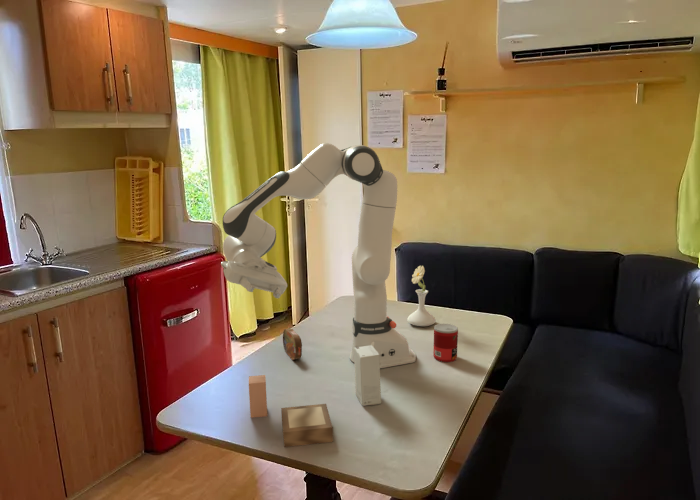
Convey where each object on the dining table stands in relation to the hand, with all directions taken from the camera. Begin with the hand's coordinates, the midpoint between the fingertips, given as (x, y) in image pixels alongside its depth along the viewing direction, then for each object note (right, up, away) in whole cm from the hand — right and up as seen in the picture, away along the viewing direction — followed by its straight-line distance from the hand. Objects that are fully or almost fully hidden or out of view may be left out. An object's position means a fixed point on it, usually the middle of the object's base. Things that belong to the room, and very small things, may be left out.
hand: (265, 293), depth 153 cm
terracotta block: (-1, -32, -7) cm, 33 cm away
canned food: (+57, -25, +27) cm, 68 cm away
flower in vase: (+53, -18, +59) cm, 82 cm away
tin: (+5, -24, +31) cm, 40 cm away
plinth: (+13, -34, -17) cm, 41 cm away
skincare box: (+30, -31, 0) cm, 43 cm away
